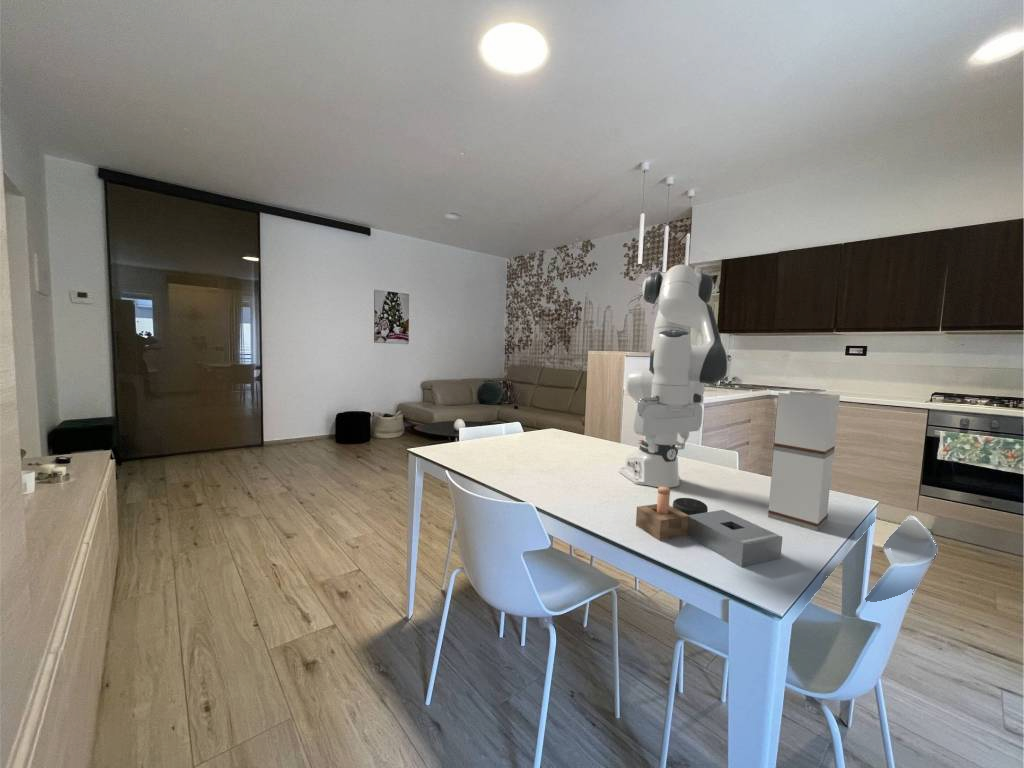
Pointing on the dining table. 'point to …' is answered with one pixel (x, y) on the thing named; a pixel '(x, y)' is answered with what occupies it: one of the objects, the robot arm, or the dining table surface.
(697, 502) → the smart speaker
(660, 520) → the mount
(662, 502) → the pin
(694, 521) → the dock
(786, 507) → the white tall box
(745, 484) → the dining table surface
